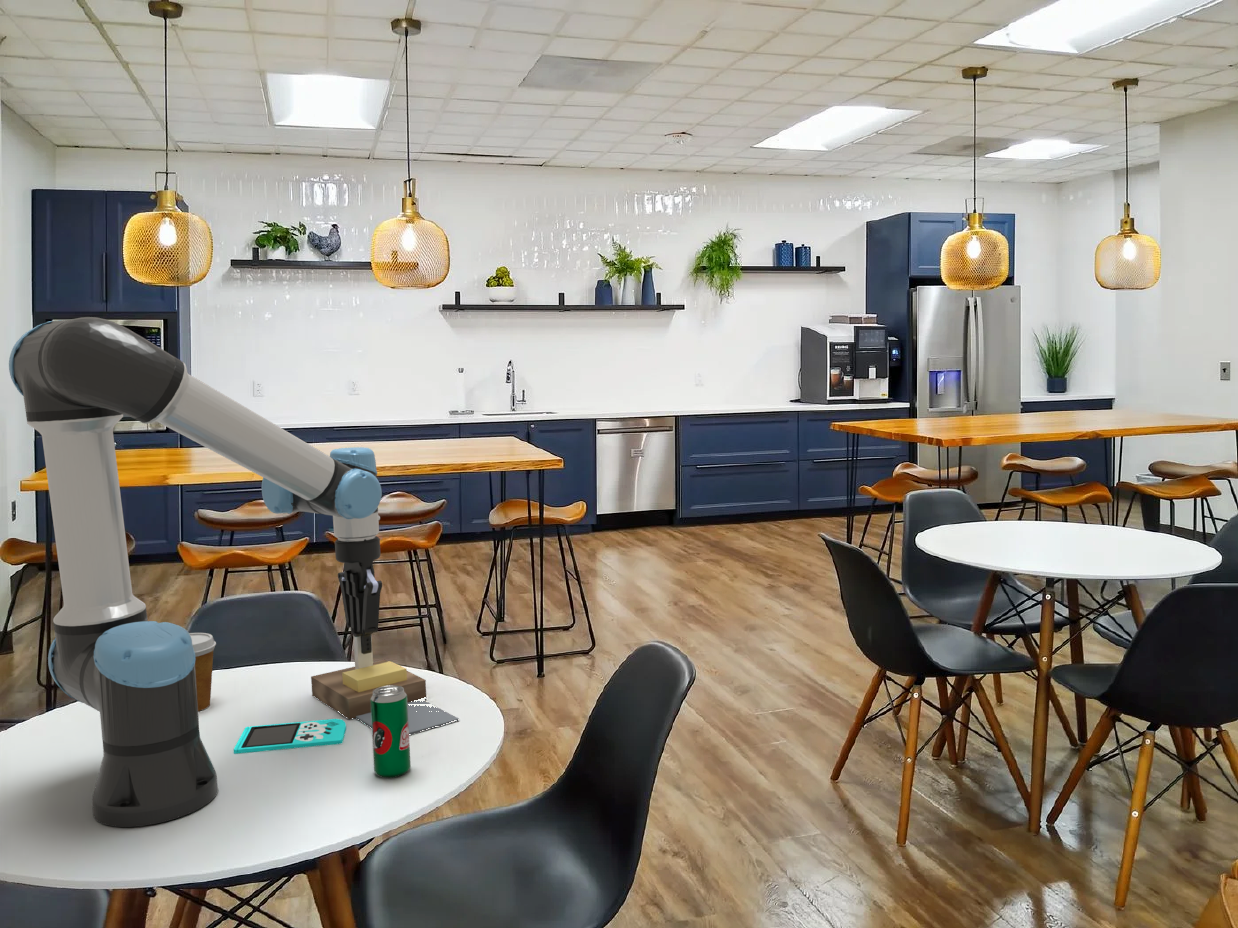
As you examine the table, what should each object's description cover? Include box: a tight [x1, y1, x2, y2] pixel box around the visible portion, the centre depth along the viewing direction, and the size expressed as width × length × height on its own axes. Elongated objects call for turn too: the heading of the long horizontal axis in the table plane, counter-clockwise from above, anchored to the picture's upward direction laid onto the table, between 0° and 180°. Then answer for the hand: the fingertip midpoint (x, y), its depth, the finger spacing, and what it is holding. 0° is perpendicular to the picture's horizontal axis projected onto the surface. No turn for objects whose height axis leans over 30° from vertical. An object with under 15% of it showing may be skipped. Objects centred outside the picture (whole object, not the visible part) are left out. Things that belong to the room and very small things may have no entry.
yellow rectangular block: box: [342, 661, 408, 692], centre depth 166 cm, size 6×9×2 cm, turn 130°
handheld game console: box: [233, 718, 347, 755], centre depth 151 cm, size 10×16×1 cm, turn 101°
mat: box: [355, 700, 460, 735], centre depth 157 cm, size 13×12×1 cm
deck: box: [310, 659, 427, 720], centre depth 168 cm, size 16×14×4 cm
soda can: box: [370, 685, 412, 779], centre depth 136 cm, size 5×5×12 cm
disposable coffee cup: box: [188, 632, 217, 712], centre depth 166 cm, size 10×10×12 cm
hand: (364, 669), depth 169 cm, fingers closed
